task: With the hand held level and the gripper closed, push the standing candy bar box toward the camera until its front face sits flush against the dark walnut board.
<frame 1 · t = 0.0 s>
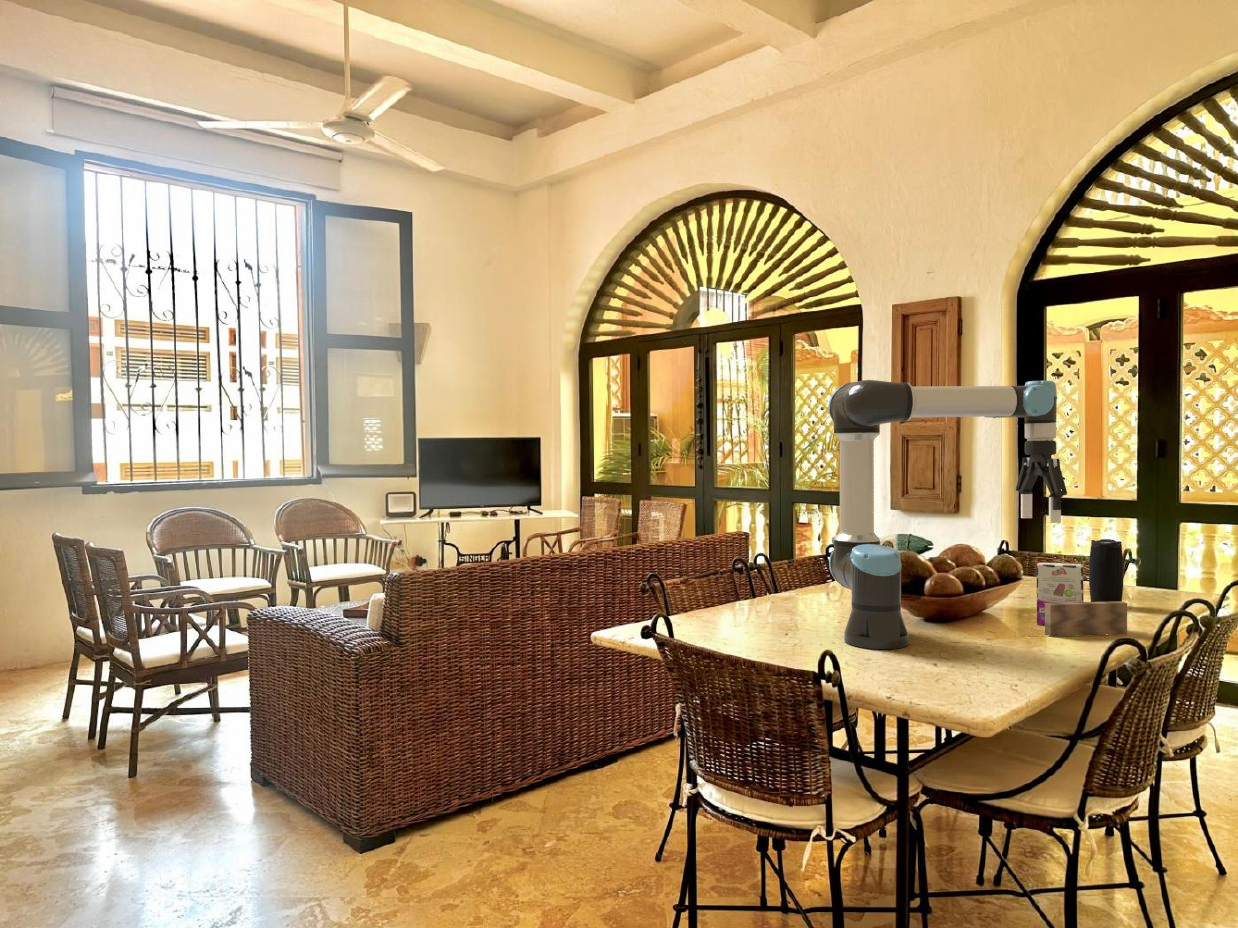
hand: (1040, 520, 228), 28 cm above the table, tool pointing down, fingers open, 13 cm apart
portable speaker: (1106, 607, 254), on the table
walnut board: (1085, 634, 219), on the table
candy bar box: (1059, 625, 230), on the table
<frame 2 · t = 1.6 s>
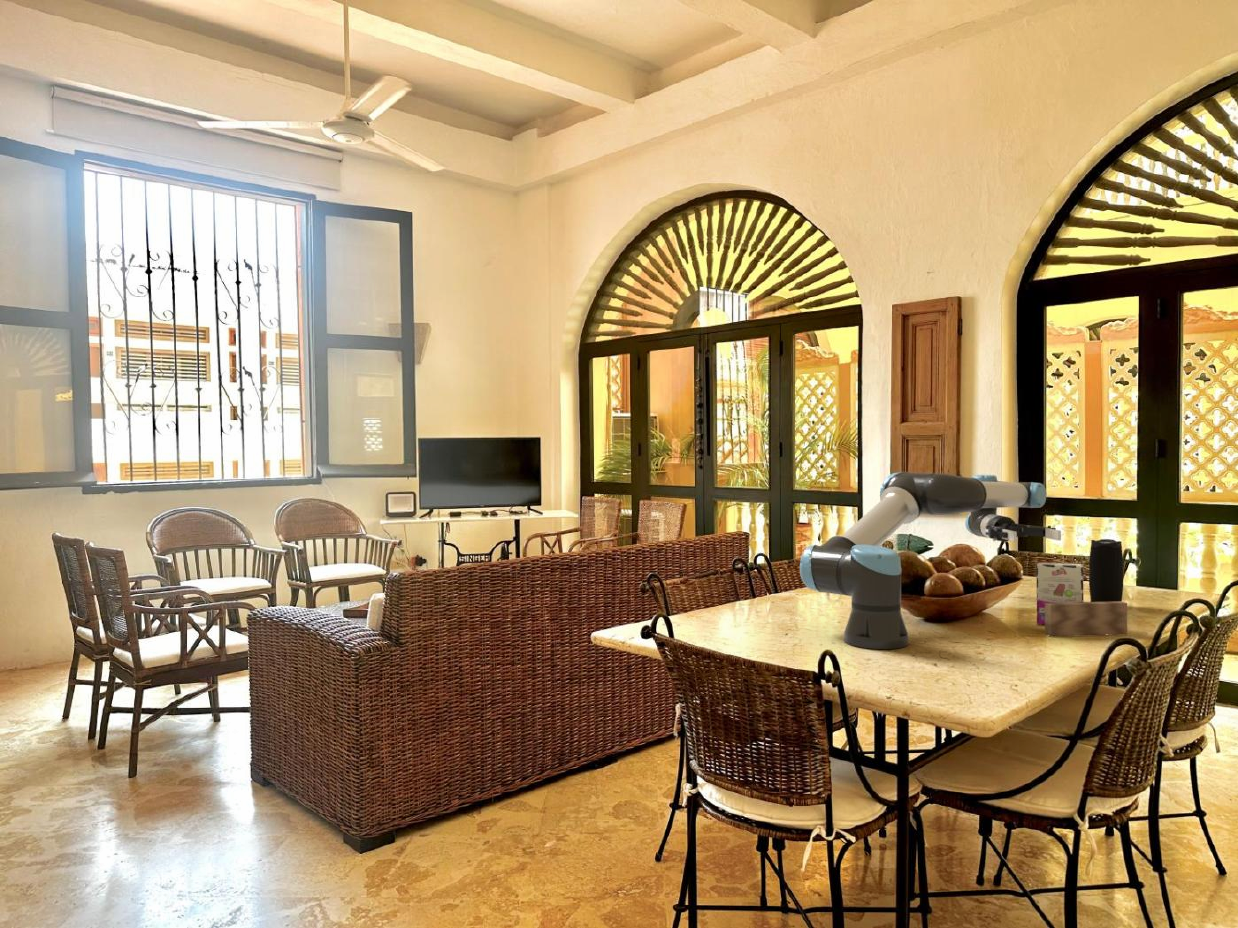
hand: (1037, 536, 241), 22 cm above the table, tool horizontal, fingers open, 12 cm apart
nothing on the table moved.
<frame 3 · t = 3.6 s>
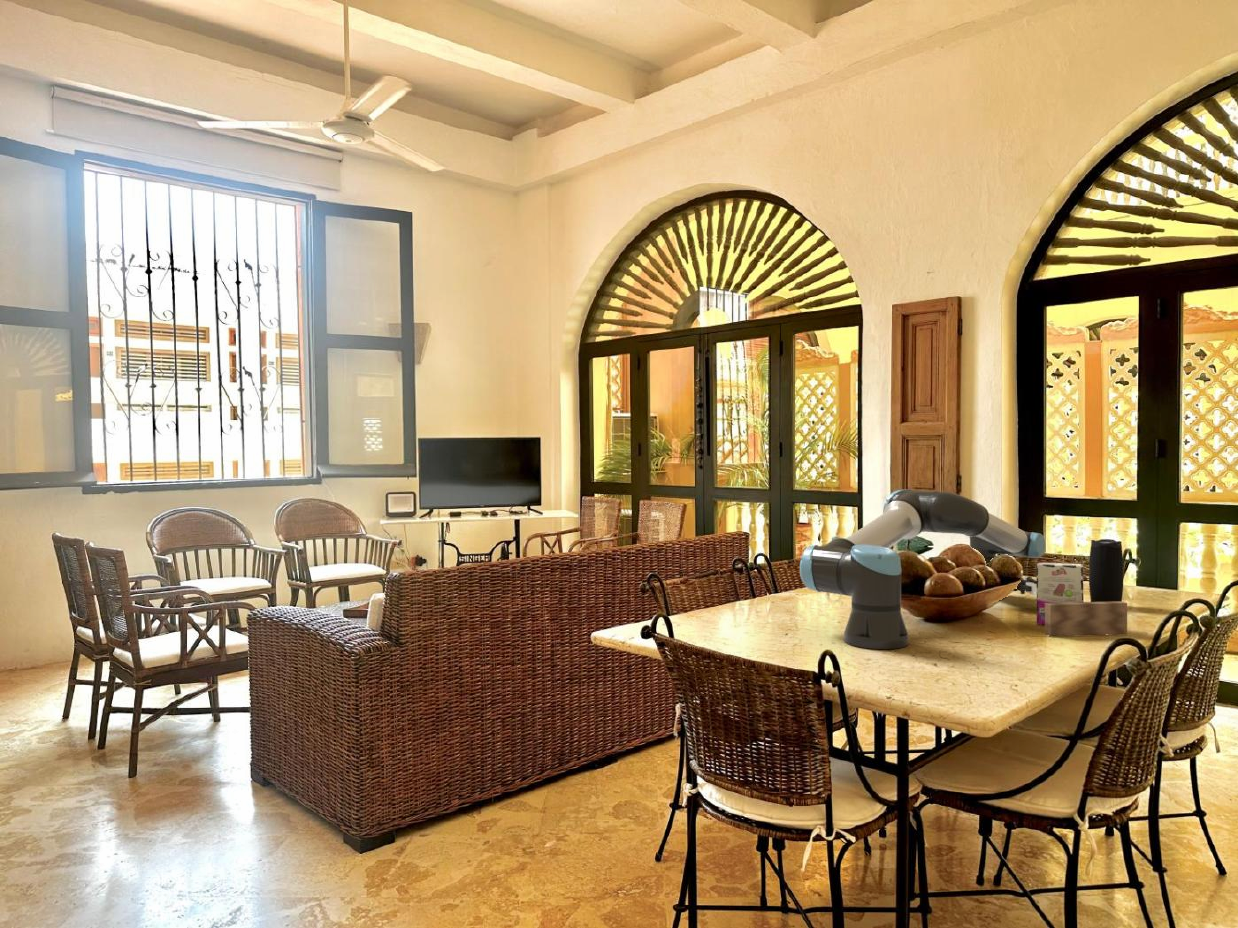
hand: (1040, 591, 239), 7 cm above the table, tool horizontal, fingers closed
nothing on the table moved.
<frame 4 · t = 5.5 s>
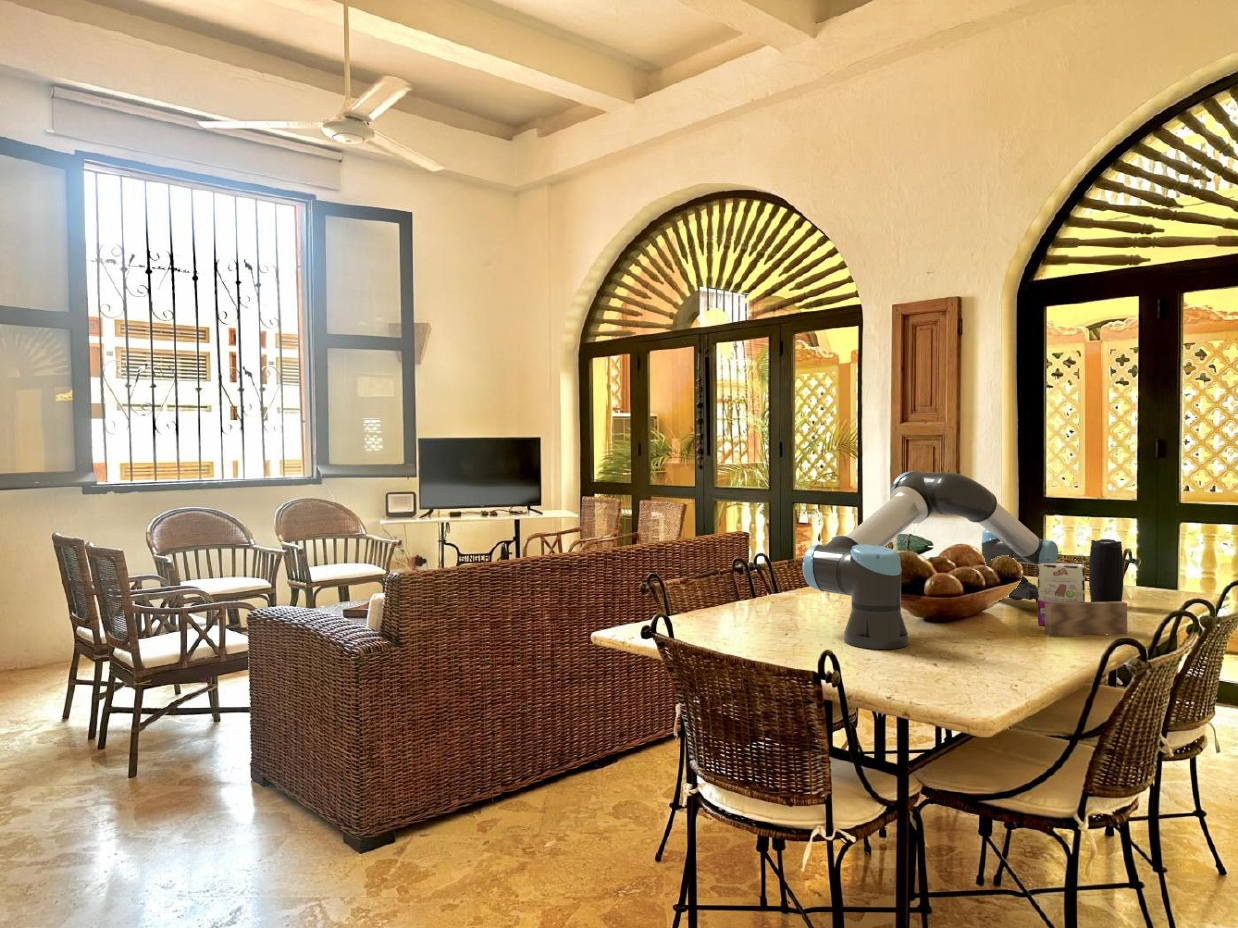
hand: (1057, 599, 232), 6 cm above the table, tool horizontal, fingers closed
candy bar box: (1061, 626, 229), on the table, touching gripper
everything else where it was.
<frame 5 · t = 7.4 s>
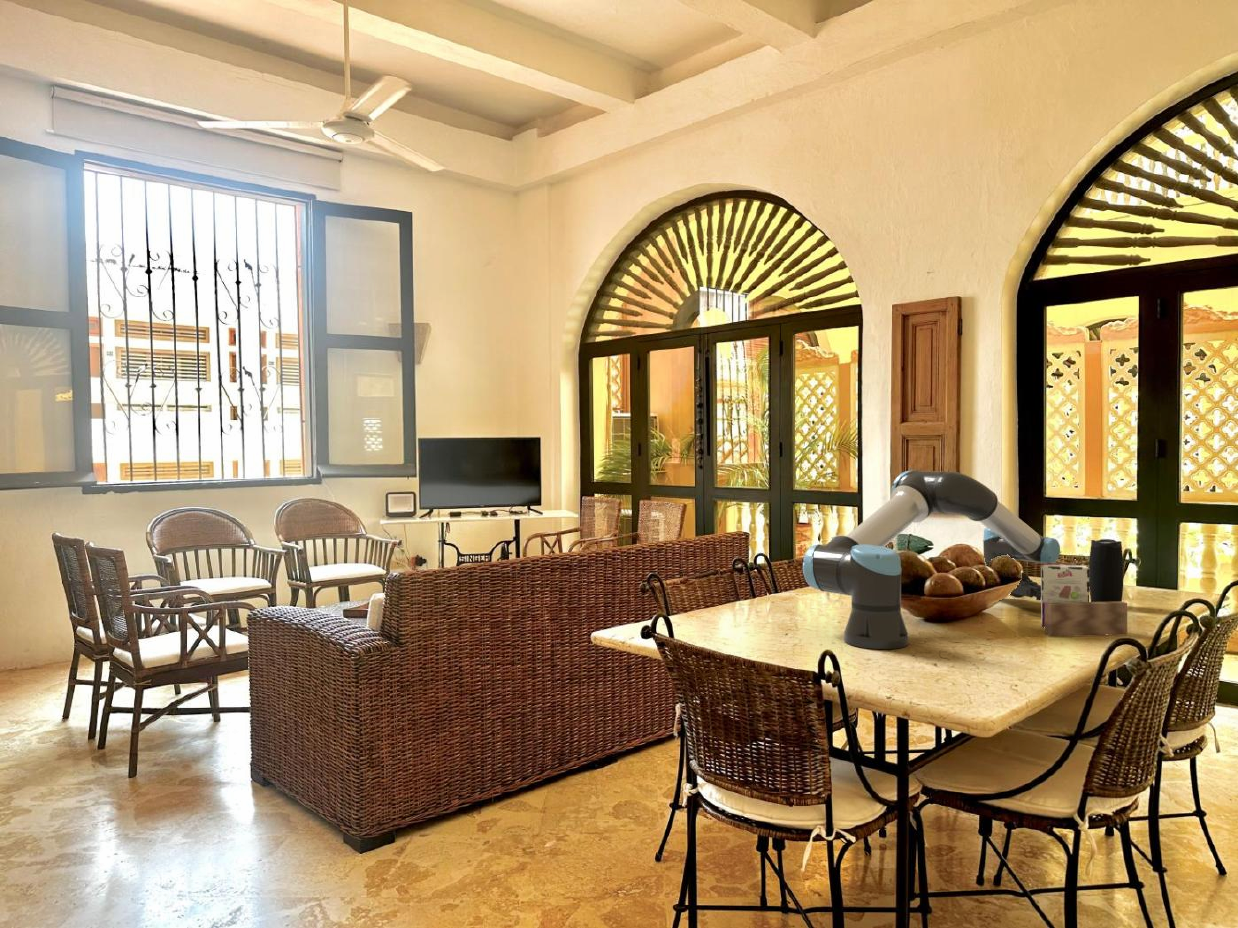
hand: (1057, 597, 232), 7 cm above the table, tool horizontal, fingers closed
candy bar box: (1064, 628, 227), on the table
everything else where it was.
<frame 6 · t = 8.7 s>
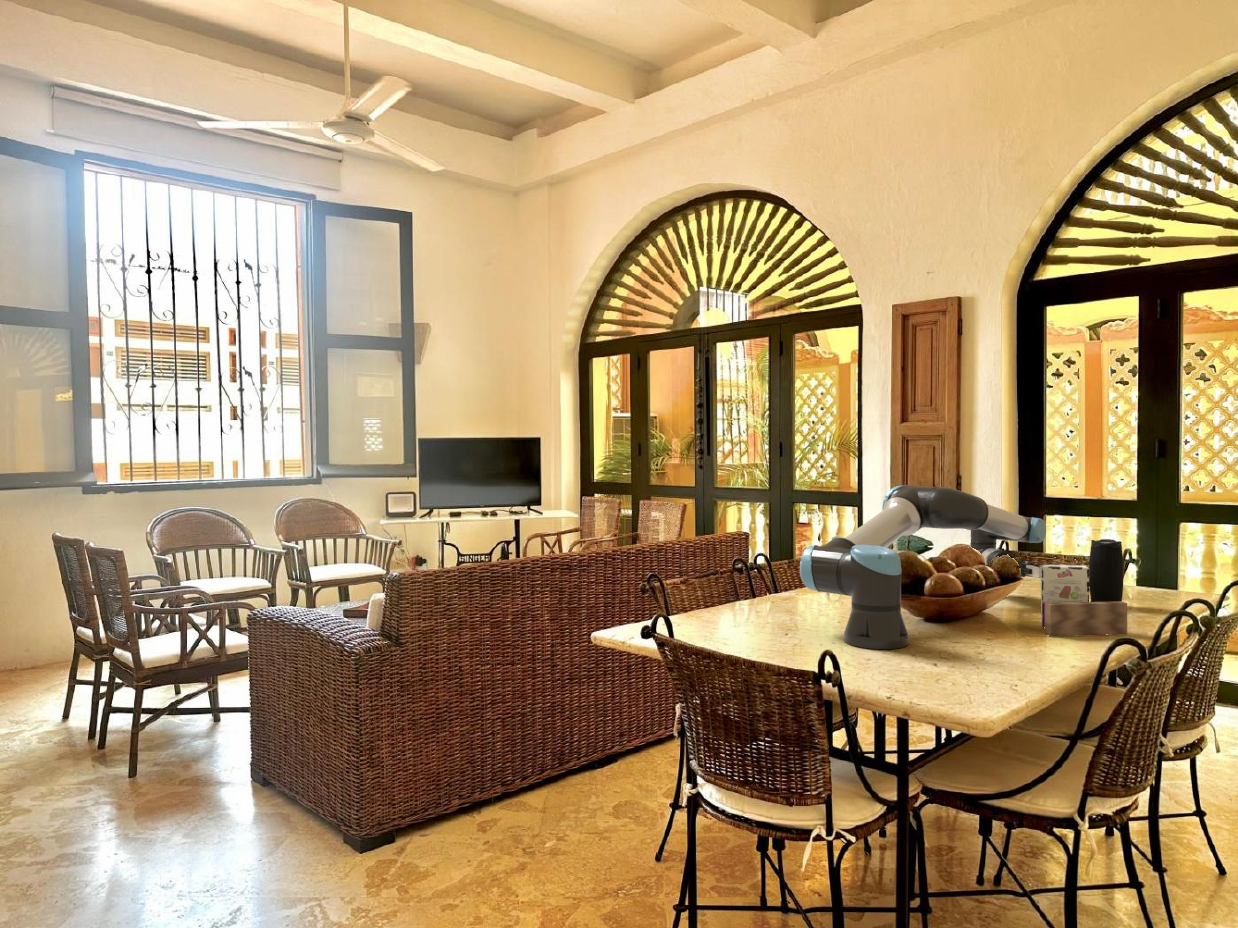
hand: (1041, 573, 239), 12 cm above the table, tool horizontal, fingers closed
nothing on the table moved.
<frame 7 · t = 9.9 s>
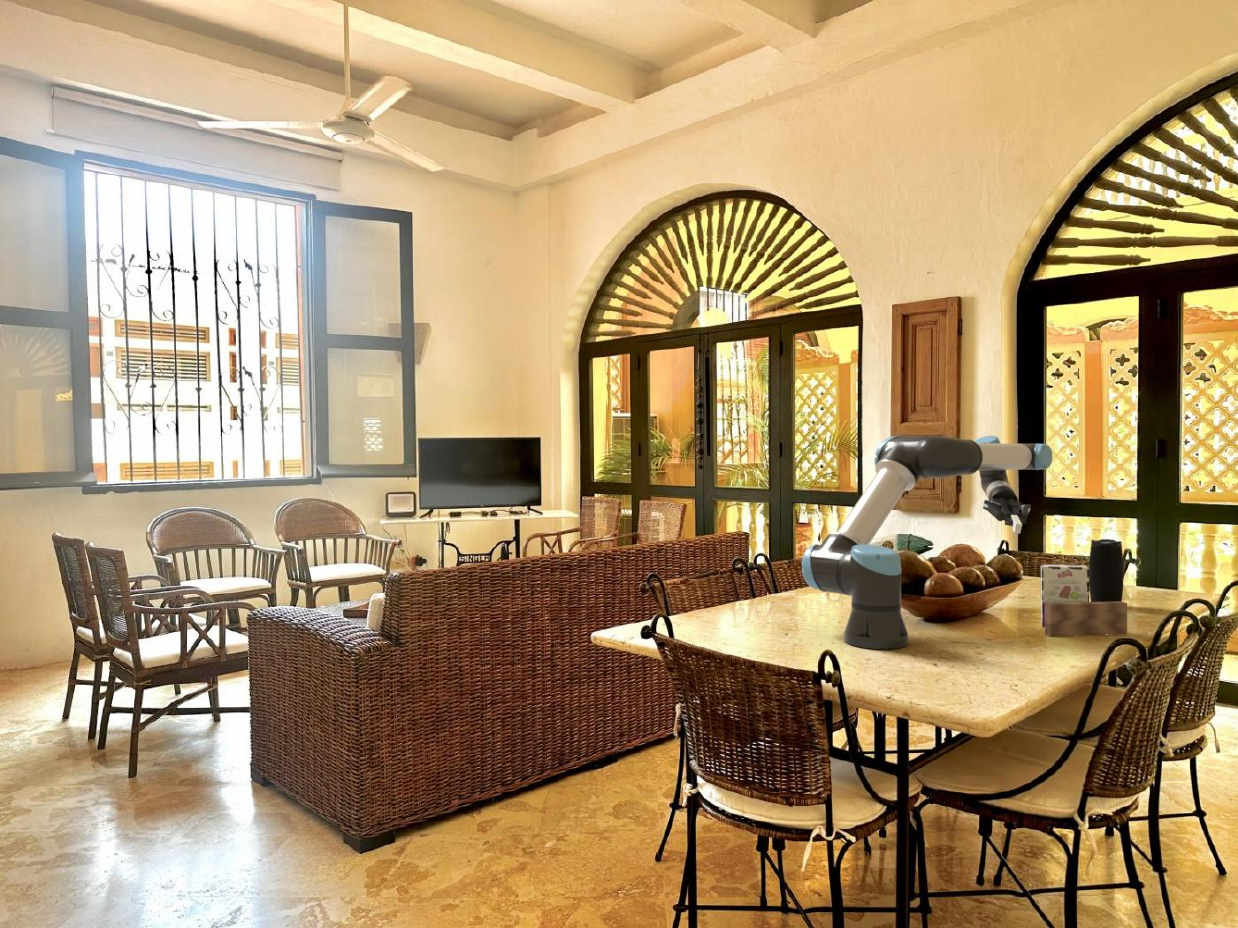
hand: (1018, 528, 235), 25 cm above the table, tool tilted 75°, fingers closed
nothing on the table moved.
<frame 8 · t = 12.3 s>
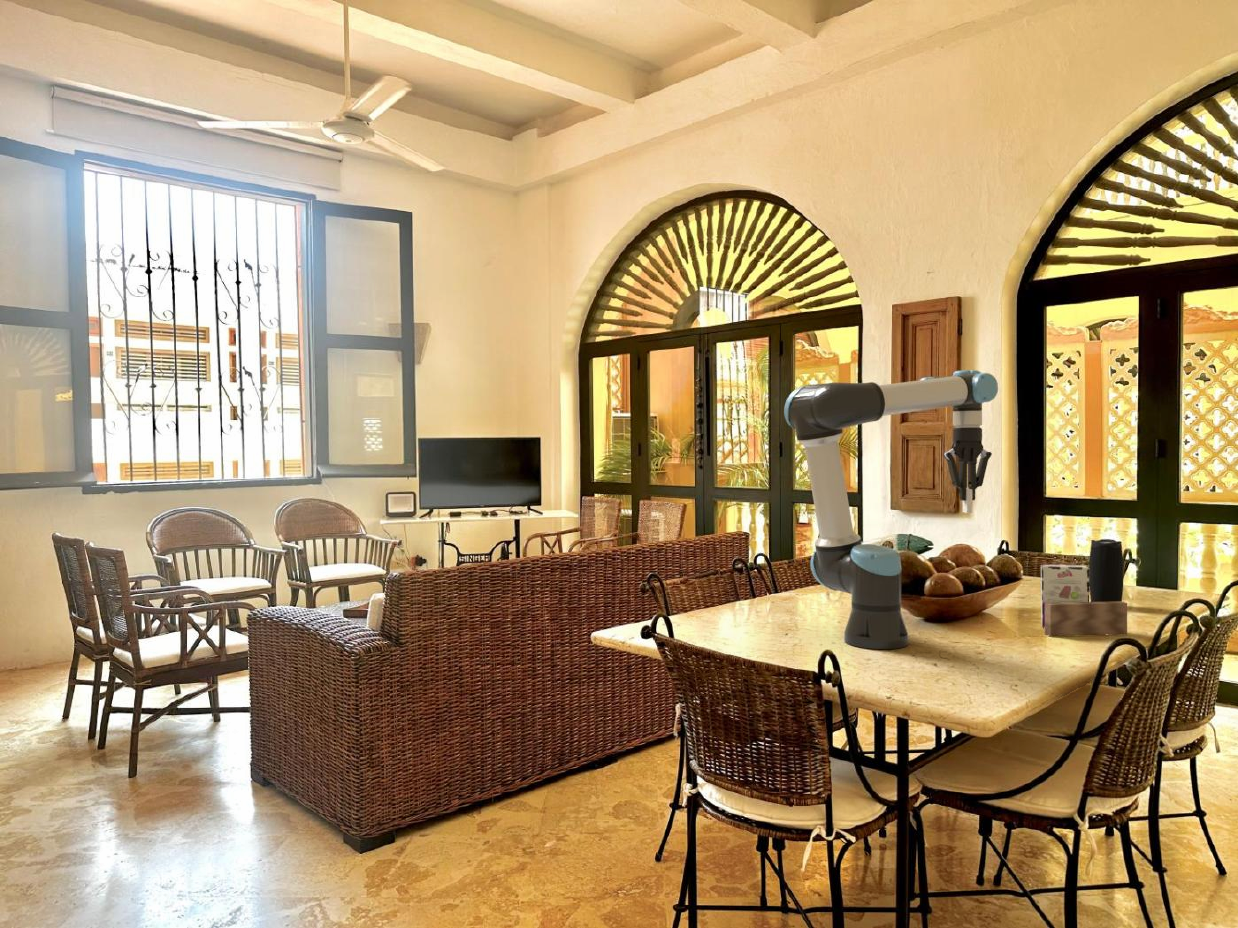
hand: (967, 512, 239), 29 cm above the table, tool pointing down, fingers closed
nothing on the table moved.
at the end: candy bar box inside the target area on the table beside the walnut board (1.0 cm from its centre), on the table; candy bar box tilted 0° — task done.
